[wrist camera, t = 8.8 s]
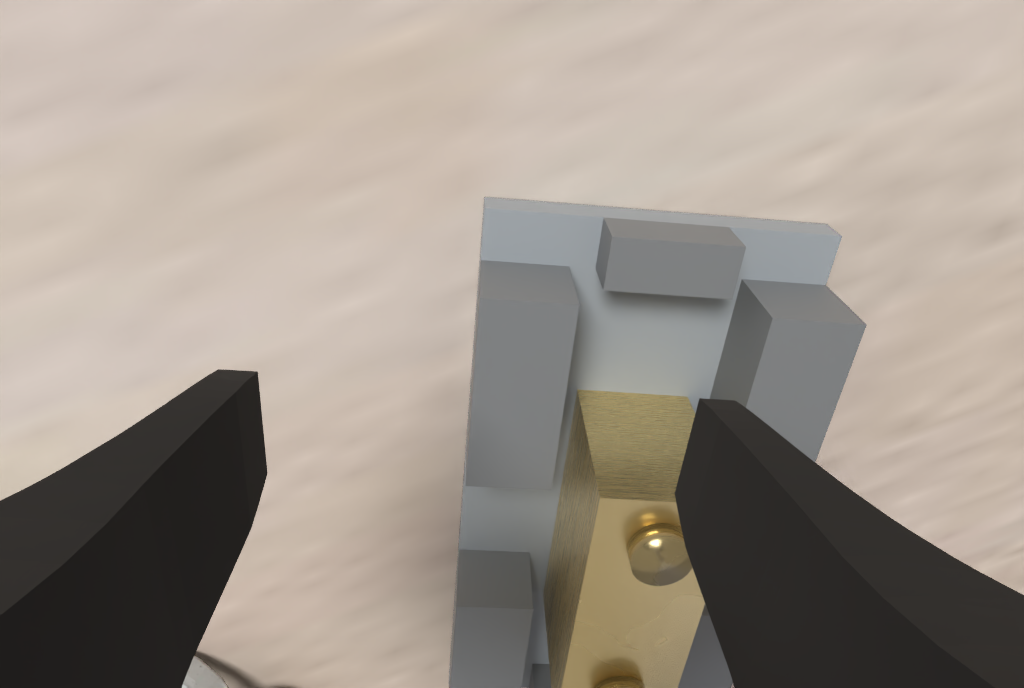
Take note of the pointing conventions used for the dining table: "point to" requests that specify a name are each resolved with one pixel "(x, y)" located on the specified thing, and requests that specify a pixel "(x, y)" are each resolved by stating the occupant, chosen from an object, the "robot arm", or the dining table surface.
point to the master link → (621, 547)
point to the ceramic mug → (202, 676)
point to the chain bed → (621, 382)
